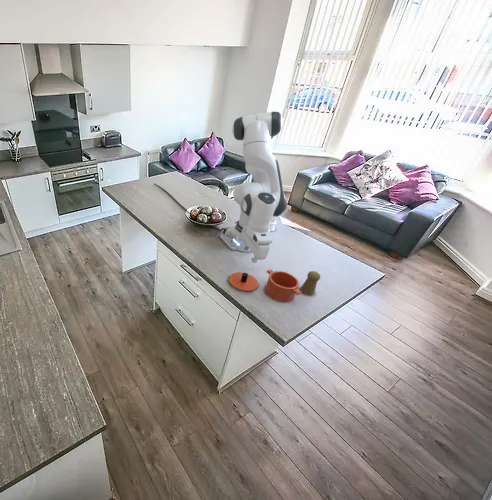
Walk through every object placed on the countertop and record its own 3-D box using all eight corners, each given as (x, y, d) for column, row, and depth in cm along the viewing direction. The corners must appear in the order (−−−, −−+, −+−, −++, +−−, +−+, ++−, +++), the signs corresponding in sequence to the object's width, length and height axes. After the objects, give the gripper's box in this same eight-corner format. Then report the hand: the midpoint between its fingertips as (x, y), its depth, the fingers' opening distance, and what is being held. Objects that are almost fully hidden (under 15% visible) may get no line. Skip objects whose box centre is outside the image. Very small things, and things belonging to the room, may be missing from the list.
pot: (284, 309, 128) (290, 295, 123) (255, 284, 141) (259, 272, 137) (304, 300, 132) (310, 287, 128) (274, 277, 146) (278, 265, 141)
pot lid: (242, 295, 135) (244, 286, 132) (223, 278, 145) (225, 270, 142) (263, 287, 140) (266, 278, 137) (243, 271, 150) (246, 263, 147)
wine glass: (274, 231, 184) (279, 214, 178) (265, 229, 186) (270, 212, 180) (275, 228, 188) (280, 211, 181) (267, 226, 190) (271, 209, 184)
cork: (302, 285, 141) (309, 267, 135) (315, 290, 138) (323, 272, 132) (298, 291, 137) (306, 273, 131) (312, 297, 134) (320, 279, 128)
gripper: (241, 218, 134) (235, 243, 142) (259, 243, 117) (251, 269, 125) (254, 218, 134) (247, 242, 142) (274, 242, 118) (265, 268, 126)
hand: (249, 255), depth 134 cm, fingers open, 8 cm apart
